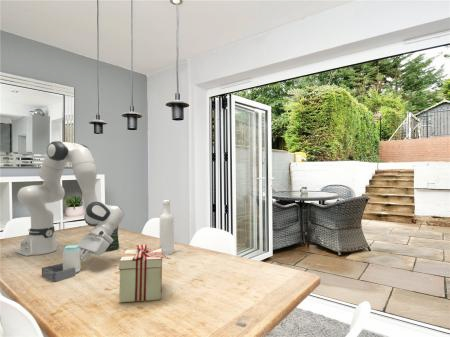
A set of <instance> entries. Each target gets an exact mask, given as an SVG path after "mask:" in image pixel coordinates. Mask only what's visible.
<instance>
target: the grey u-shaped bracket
mask: <svg viewBox="0 0 450 337" xmlns="http://www.w3.org/2000/svg"><path fill="white" fill-rule="evenodd" d="M41 277H43V278H45V279H47V280H48V281H50V282H52V283H56V282H59V281H62V280H66V279H70V278H72V277H76V273H75V268H71V269H67V270H63V262H61V263H57V264H52V265H48V266H45V267H41Z"/></svg>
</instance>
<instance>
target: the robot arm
mask: <svg viewBox="0 0 450 337" xmlns="http://www.w3.org/2000/svg"><path fill="white" fill-rule="evenodd" d="M67 163H71V167H72V168H71V169H72V171H73V174H74V177H75V180H76V181H77V184H78V185H79V188H80V190H81V193H82V197H83V198H82V199H83V201H84V207H85V212H84V217H83V220H84V222H85V224H86V225H88V226H90V227H94V228H92V230H91V231H90V232H89V233H87V234H85V235H84V236H83V237H82V238H81V239H80V240H79V241H78V242H77V243H76V245H78V246H79V248H80V261H85V260H86V258H89V256H91V255H97V256H99V257H101V255H104V253H105V252H107V251H106V249H107V248H108V247H109V245H110V243H112V242H113V239H112V238H111V237H110V236H111V235H112V233H113V231H114V230H115V229H116V228H117V227H118V226H120V224H121V222H122V221H123V219H124V217H125V212H124V210H122V208H121V207H120V206H117V205H110V204H105V203H103V202H100V201H98V199H97V198H98V197H97V194H96V182H97V176H98V175H97V167H96V166H97V165H96V162H95V159H94V157H93V155H92V152H91V150H90V148H89V147H88V146H87V145H85V144H81V143H76V142H69V141H60V140H59V141H58V140H57V141H56V140H55V141H51V142H50V143H49V144H48V146H47V148H46V155H45V156H44V159H43V161H42V163H41V166H40V169H39V171H38V176H39V178H40V179H41V180H42V181H43V183H42V184H36V185H35V184H34V185H28V186H23V187H20V189H19V190H18V192H17V194H16V195H17V200H18V202H19V203H21V205H24V207H26V209H27V210H28V212H29V216H30V228H29V229H28V230H27V231H28V232H29V233H28V235H27V236H26V237H24V238H23V239H22V240H21V242H20V248H19V249H15V253H17V254H20V255H22V256H25V257H28V256H36V255H45V254H50V253H53V252H56V251H57V250H58V249H59V246H58V245H57V238H56V234H55V226H54V213H53V211H51V210H49V209H47V207H46V204H49V203H51V204H52V203H55V202H59V201H61V200H63V199H64V197H65V194H66V192H65V188H64V187H63V186H62V185H61V179H62V175H63V173H64V170H65V167H66V164H67ZM118 228H119V227H118Z"/></svg>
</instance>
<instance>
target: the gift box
mask: <svg viewBox="0 0 450 337" xmlns="http://www.w3.org/2000/svg"><path fill="white" fill-rule="evenodd" d="M161 248H162V247H161ZM163 259H166V260H170V259H171V257H167V255H163V254H162V249H160V247H147V244H146V243H145V244H138V245H136V249H126V250H124V252H123V253H122V256H121V258H120V259H119V261H118V270H119V291H118V292H119V298H118V300H119V301H118V302H119V303H130V302H131V303H132V302H143V301H144V302H145V301H146V302H147V301H155V300H161V297H162V296H161V294H162V282H163V280H162V279H163V275H162V274H163V272H162V270H163Z"/></svg>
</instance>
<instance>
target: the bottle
mask: <svg viewBox="0 0 450 337" xmlns="http://www.w3.org/2000/svg"><path fill="white" fill-rule="evenodd" d="M162 204H163V205H162V206H163V207H162V209H163V210H162V211H163V212H162V214H160V216H159V249H162V254H163V255H164V256H169V255H173V254H174V252H175V246H174V244H175V242H174V238H175V237H174V235H175V234H174V224H175V223H174V219H175V218H174V216H173V214H172V213H171V206H170V205H171V202H170V200H169V199H164V200H163V202H162ZM161 247H162V248H161Z"/></svg>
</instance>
